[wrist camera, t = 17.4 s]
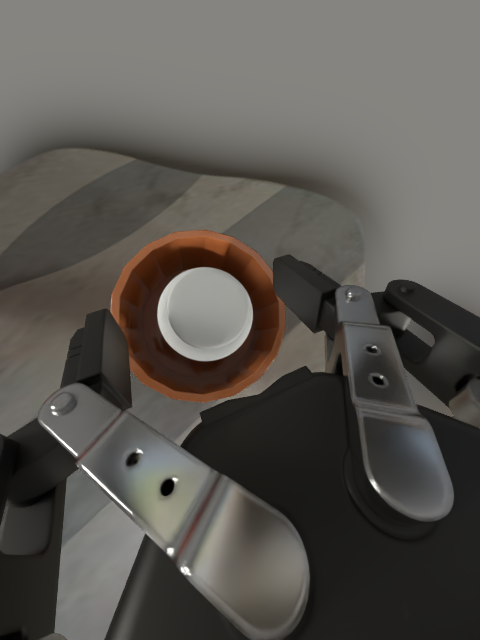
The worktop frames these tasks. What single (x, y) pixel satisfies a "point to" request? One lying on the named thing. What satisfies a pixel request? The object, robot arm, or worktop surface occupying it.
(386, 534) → the robot arm
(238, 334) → the supplement bottle
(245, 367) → the orange-brown round open container
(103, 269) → the worktop surface
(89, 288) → the worktop surface
